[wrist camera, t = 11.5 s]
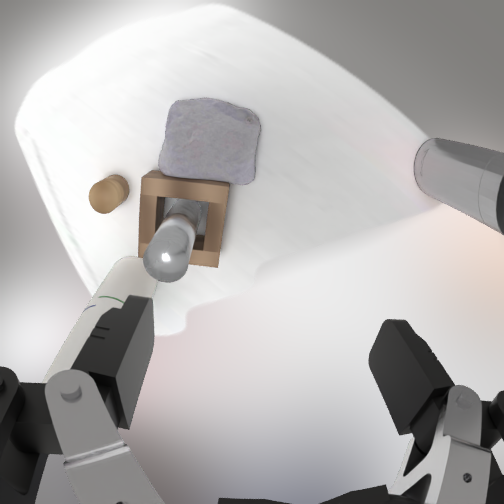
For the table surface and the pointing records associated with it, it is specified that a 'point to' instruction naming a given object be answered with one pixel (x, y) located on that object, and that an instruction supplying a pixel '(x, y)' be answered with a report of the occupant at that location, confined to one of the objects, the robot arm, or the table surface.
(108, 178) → the oak stub
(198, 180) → the collar
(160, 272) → the steel pin
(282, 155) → the table surface
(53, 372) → the cylindrical container
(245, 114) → the stone block
